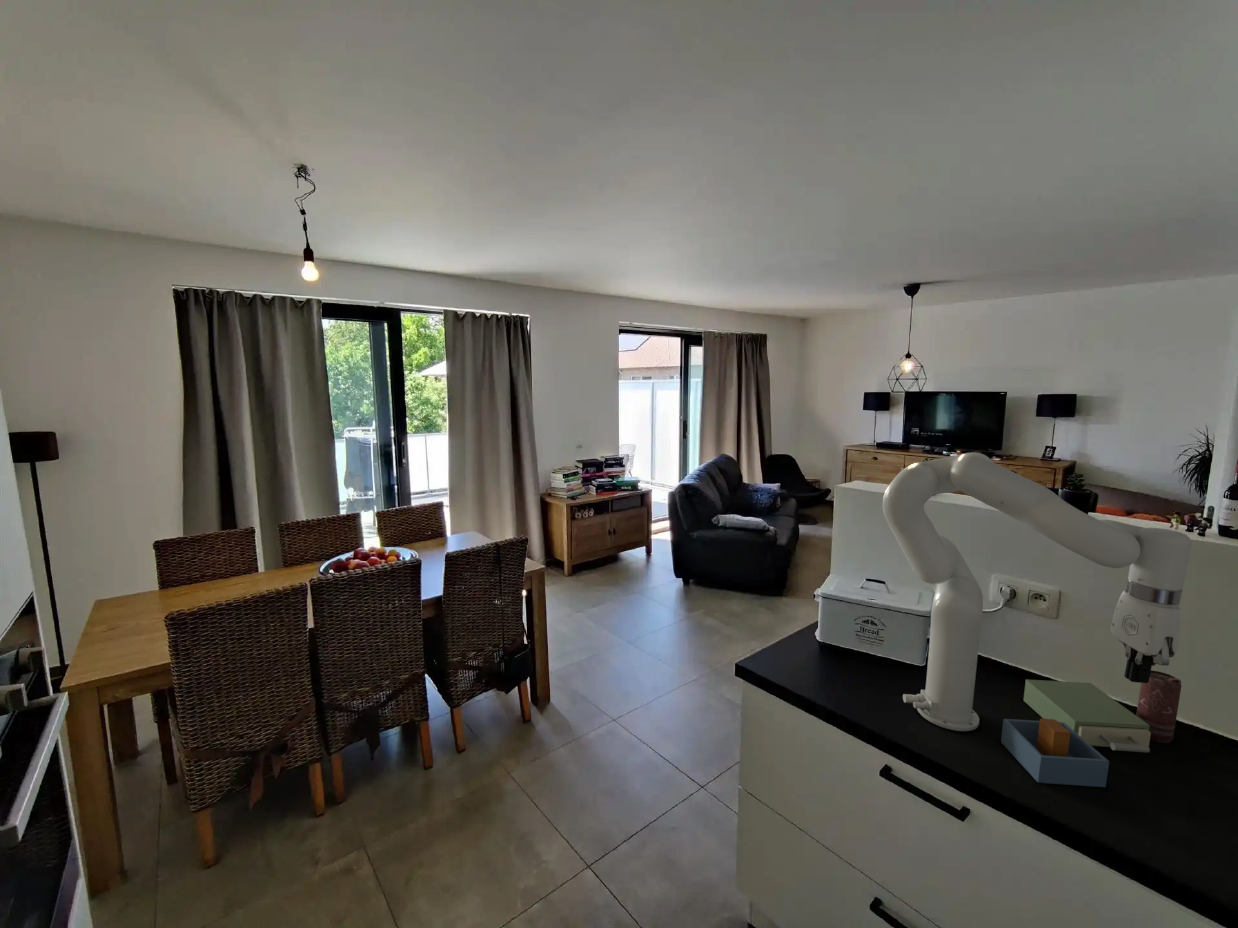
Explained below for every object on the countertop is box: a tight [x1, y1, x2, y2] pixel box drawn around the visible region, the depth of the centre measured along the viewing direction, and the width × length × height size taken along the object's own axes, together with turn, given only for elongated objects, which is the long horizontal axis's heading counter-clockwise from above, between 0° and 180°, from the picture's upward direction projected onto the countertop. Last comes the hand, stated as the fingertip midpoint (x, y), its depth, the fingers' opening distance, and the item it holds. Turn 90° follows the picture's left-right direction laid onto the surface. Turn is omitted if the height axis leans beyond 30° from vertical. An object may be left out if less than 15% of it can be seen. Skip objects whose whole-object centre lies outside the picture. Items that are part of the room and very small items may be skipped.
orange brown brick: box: [1036, 718, 1070, 757], centre depth 110 cm, size 3×4×8 cm
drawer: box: [1077, 725, 1151, 753], centre depth 119 cm, size 20×13×4 cm
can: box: [1135, 670, 1182, 744], centre depth 118 cm, size 6×6×14 cm
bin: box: [1000, 718, 1110, 788], centre depth 110 cm, size 12×12×6 cm
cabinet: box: [1023, 679, 1150, 748], centre depth 123 cm, size 17×15×6 cm
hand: (1136, 680), depth 107 cm, fingers closed
